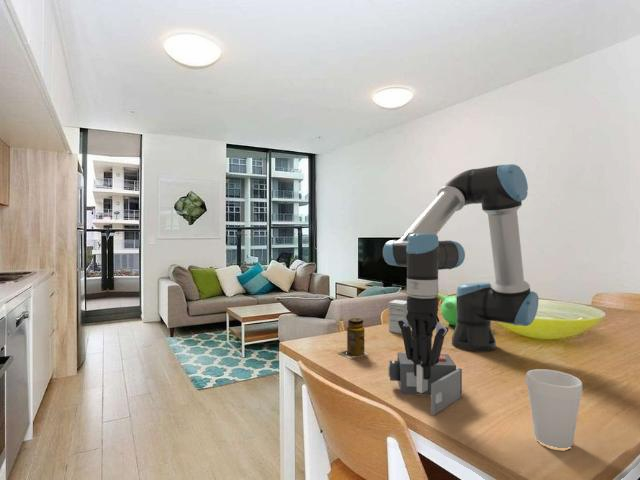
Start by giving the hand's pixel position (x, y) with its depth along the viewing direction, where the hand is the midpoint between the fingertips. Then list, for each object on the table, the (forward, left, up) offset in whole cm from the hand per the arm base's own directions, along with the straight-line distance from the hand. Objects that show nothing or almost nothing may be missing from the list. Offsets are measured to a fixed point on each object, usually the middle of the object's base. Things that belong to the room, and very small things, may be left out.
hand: (422, 390), depth 92 cm
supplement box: (-1, -68, -3) cm, 68 cm away
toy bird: (-28, -79, -3) cm, 84 cm away
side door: (-6, +1, -3) cm, 7 cm away
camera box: (-1, -9, -3) cm, 9 cm away
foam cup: (-23, +15, -3) cm, 28 cm away
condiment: (+18, -36, -3) cm, 40 cm away
